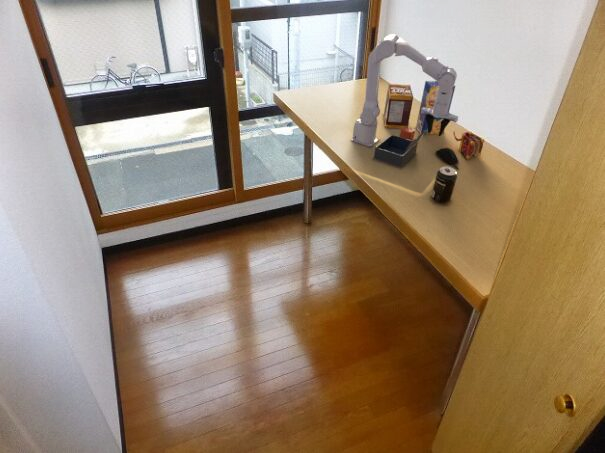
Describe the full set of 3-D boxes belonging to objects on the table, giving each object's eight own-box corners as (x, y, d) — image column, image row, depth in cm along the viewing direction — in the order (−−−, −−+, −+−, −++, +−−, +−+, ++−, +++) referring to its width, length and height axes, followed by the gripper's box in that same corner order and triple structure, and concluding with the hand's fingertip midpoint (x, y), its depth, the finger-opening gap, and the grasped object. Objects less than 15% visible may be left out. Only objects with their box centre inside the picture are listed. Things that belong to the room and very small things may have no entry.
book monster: (482, 157, 178) (455, 161, 176) (471, 148, 185) (445, 151, 183) (487, 134, 172) (460, 137, 170) (476, 125, 179) (449, 128, 177)
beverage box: (443, 133, 196) (455, 86, 182) (420, 134, 194) (431, 86, 181) (437, 126, 201) (449, 80, 188) (415, 127, 200) (425, 81, 186)
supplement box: (404, 115, 210) (410, 84, 201) (407, 129, 198) (413, 96, 189) (383, 114, 211) (388, 83, 201) (385, 127, 199) (390, 95, 189)
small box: (398, 142, 188) (400, 129, 184) (402, 139, 190) (404, 126, 187) (408, 145, 185) (411, 132, 182) (412, 142, 188) (415, 129, 184)
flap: (425, 129, 171) (425, 130, 171) (417, 140, 176) (418, 141, 176) (410, 143, 162) (410, 143, 162) (402, 154, 166) (403, 155, 166)
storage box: (389, 145, 185) (391, 134, 181) (415, 154, 179) (417, 142, 176) (373, 159, 175) (375, 147, 172) (400, 168, 170) (402, 156, 166)
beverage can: (446, 194, 156) (454, 165, 148) (452, 205, 150) (461, 176, 143) (428, 194, 155) (435, 165, 148) (433, 205, 150) (441, 176, 143)
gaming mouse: (450, 170, 170) (453, 161, 167) (432, 152, 181) (434, 144, 179) (464, 168, 171) (467, 159, 169) (446, 151, 182) (448, 142, 180)
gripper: (420, 100, 166) (414, 132, 174) (457, 109, 160) (448, 142, 168) (427, 95, 171) (420, 126, 179) (463, 104, 164) (454, 136, 173)
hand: (434, 134), depth 174 cm, fingers open, 4 cm apart
